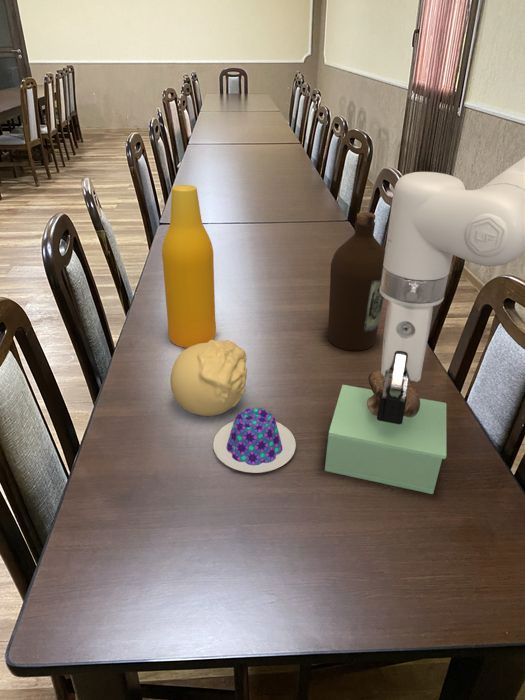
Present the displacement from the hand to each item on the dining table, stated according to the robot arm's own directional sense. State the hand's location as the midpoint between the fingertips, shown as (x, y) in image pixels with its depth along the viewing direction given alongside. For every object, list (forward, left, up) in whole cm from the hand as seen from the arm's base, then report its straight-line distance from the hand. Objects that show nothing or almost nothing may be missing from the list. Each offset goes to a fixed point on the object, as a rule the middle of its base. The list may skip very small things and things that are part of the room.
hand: (392, 401), depth 73 cm
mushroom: (0, 0, -2) cm, 2 cm away
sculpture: (+28, -4, -10) cm, 30 cm away
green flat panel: (0, 0, -3) cm, 3 cm away
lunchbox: (0, 0, -10) cm, 10 cm away
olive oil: (+9, -32, -10) cm, 35 cm away
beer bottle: (+39, -23, -10) cm, 46 cm away
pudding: (+18, +4, -10) cm, 21 cm away
